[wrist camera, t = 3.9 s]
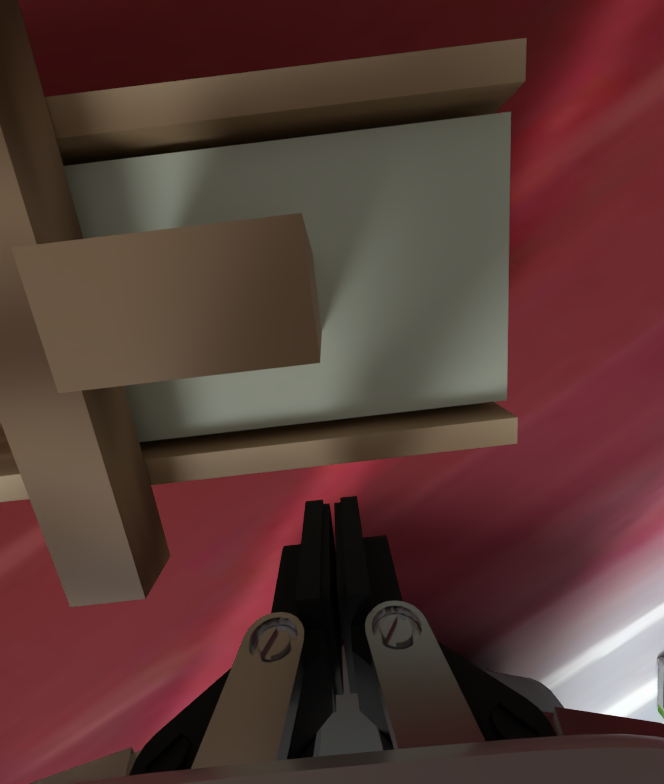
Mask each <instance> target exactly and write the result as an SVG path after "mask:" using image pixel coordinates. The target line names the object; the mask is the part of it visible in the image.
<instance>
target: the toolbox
mask: <svg viewBox="0 0 664 784" xmlns="http://www.w3.org/2000/svg"><path fill="white" fill-rule="evenodd" d="M526 41H527V38H520V39H512V40H504V41H496V42H488V43H480V44H472V45H464V46H455V47H447V48H439V49H431V50H423V51H415V52H407V53H399V54H391V55H382V56H374V57H366V58H358V59H350V60H342V61H334V62H326V63H318V64H310V65H301V66H293V67H285V68H277V69H269V70H261V71H253V72H245V73H237V74H228V75H220V76H212V77H204V78H196V79H188V80H180V81H172V82H164V83H155V84H147V85H139V86H131V87H123V88H115V89H107V90H99V91H91V92H82V93H74V94H66V95H58V96H50V97H45V100H46V104H47V108H48V111H49V115H50V119H51V122H52V126H53V130H54V133H55V137H56V141H57V144H58V148H59V152H60V155H61V159H62V163H63V166H68V165H76V164H85V163H93V162H101V161H109V160H118V159H126V158H134V157H142V156H150V155H159V154H167V153H175V152H183V151H192V150H200V149H208V148H216V147H225V146H233V145H241V144H249V143H257V142H266V141H274V140H282V139H290V138H299V137H307V136H315V135H323V134H331V133H340V132H348V131H356V130H364V129H373V128H381V127H389V126H397V125H406V124H414V123H422V122H430V121H438V120H447V119H455V118H463V117H471V116H480V115H488V114H495V113H496V112H497V111H498V110H499V109H500V108H501V107H502V105H503V104H504V103H505V102H506V101H507V100H508V99H509V98H510V97H511V96H512V95H513V94H514V93H515V92H516V91H517V90H518V89H519V88H520V87H521V85H522V84H523V83H524V82H525V81H526ZM517 426H518V417H516V416H515V415H513V414H512V413H510V412H509V411H507V410H505V409H504V408H502V407H501V406H499V405H498V404H496V403H494V402H486V403H477V404H468V405H459V406H451V407H442V408H433V409H425V410H416V411H407V412H398V413H390V414H381V415H372V416H363V417H355V418H346V419H337V420H328V421H320V422H311V423H302V424H293V425H285V426H276V427H267V428H258V429H250V430H241V431H232V432H224V433H215V434H206V435H197V436H189V437H180V438H171V439H162V440H154V441H145V442H139V444H140V447H141V451H142V455H143V458H144V462H145V465H146V469H147V473H148V476H149V480H150V484H151V485H155V484H164V483H173V482H182V481H191V480H199V479H208V478H217V477H226V476H235V475H244V474H252V473H261V472H270V471H279V470H288V469H297V468H305V467H314V466H323V465H332V464H341V463H349V462H358V461H367V460H376V459H385V458H394V457H402V456H411V455H420V454H429V453H438V452H447V451H455V450H464V449H473V448H482V447H491V446H499V445H508V444H517ZM23 499H29V496H28V493H27V491H26V488H25V485H24V483H23V480H22V478H21V475H20V472H19V470H18V467H17V464H16V462H15V459H14V456H13V454H12V451H11V448H10V446H9V443H8V440H7V438H6V435H5V432H4V430H3V427H2V424H0V502H5V501H14V500H23Z"/></svg>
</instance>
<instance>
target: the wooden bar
mask: <svg viewBox="0 0 664 784" xmlns="http://www.w3.org/2000/svg"><path fill="white" fill-rule="evenodd" d="M78 239H83V236H82V232H81V228H80V225H79V221H78V217H77V214H76V210H75V206H74V203H73V199H72V195H71V192H70V188H69V184H68V181H67V177H66V173H65V170H64V166H63V163H62V159H61V155H60V152H59V148H58V144H57V141H56V137H55V133H54V130H53V126H52V122H51V119H50V115H49V111H48V108H47V104H46V100H45V97H44V93H43V89H42V86H41V82H40V79H39V75H38V71H37V68H36V64H35V60H34V57H33V53H32V49H31V46H30V42H29V38H28V35H27V31H26V27H25V24H24V20H23V16H22V13H21V9H20V6H19V2H18V0H0V422H1V424H2V427H3V430H4V432H5V435H6V438H7V440H8V443H9V446H10V448H11V451H12V454H13V456H14V459H15V462H16V464H17V467H18V470H19V472H20V475H21V478H22V480H23V483H24V485H25V488H26V491H27V493H28V496H29V499H30V501H31V504H32V507H33V509H34V512H35V515H36V517H37V520H38V523H39V525H40V528H41V531H42V533H43V536H44V539H45V541H46V544H47V547H48V549H49V552H50V554H51V557H52V560H53V562H54V565H55V568H56V570H57V573H58V576H59V578H60V581H61V584H62V586H63V589H64V592H65V594H66V597H67V600H68V602H69V605H70V607H75V606H84V605H93V604H102V603H112V602H121V601H130V600H139V599H146V597H147V595H148V594H149V592H150V590H151V588H152V587H153V585H154V583H155V582H156V580H157V578H158V576H159V575H160V573H161V571H162V570H163V568H164V566H165V564H166V563H167V561H168V559H169V558H170V553H169V549H168V546H167V542H166V538H165V535H164V531H163V528H162V524H161V520H160V517H159V513H158V509H157V506H156V502H155V498H154V495H153V491H152V487H151V484H150V480H149V476H148V473H147V469H146V465H145V462H144V458H143V455H142V451H141V447H140V444H139V440H138V436H137V433H136V429H135V425H134V422H133V418H132V414H131V411H130V407H129V403H128V400H127V396H126V392H125V389H124V386H117V387H108V388H100V389H91V390H82V391H74V392H65V393H58V391H57V388H56V385H55V382H54V378H53V375H52V372H51V369H50V366H49V363H48V360H47V357H46V354H45V351H44V348H43V345H42V342H41V338H40V335H39V332H38V329H37V326H36V323H35V320H34V317H33V314H32V311H31V308H30V305H29V302H28V298H27V295H26V292H25V289H24V286H23V283H22V280H21V277H20V274H19V271H18V268H17V265H16V262H15V258H14V255H13V252H12V249H11V247H20V246H28V245H36V244H45V243H53V242H62V241H70V240H78Z"/></svg>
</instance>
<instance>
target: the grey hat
mask: <svg viewBox="0 0 664 784" xmlns="http://www.w3.org/2000/svg"><path fill="white" fill-rule="evenodd" d="M342 660H343V685H344V695H336V712H333V713H332V715H331V716H330V717H329V718H328V719H327V721H326V722H325V723H324V724H323V726H322V727H321V745H320V752H319V756H329V755H340V754H351V753H361V752H372V751H381V749H380V745H379V741H378V737H377V728H376V725H375V724H373V723H372V722H371V721H370V720H369V719H368V718H367V717H366V716H365V715H364V714H363V713H362V712H361V711H360V710H359V702H358V694H357V693H355V694H350V688H349V680H348V673H347V665H346V658H345V650H344V646H342ZM483 671H485V670H483ZM485 672H486V673H488V674H489V675H491V676H492V677H494V678H496V679H497V680H499V681H500V682H502V683H503V684H505V685H507V686H508V687H510V688H511V689H513V690H514V691H516V692H518V693H519V694H521V695H522V696H524V697H525V698H527V699H528V700H529V701H531V702H532V703H533V704H534V705H536V706H537V707H538V708H539V709H540V710H541V711H545V712H551V713H554V707H559V708H564V707H563V706H562V704H561V703H560V702H559V700H558V699H557V698H556V697H555V695H554V694H553V693H552V692H551V690H549V689H548V688H547V687H546V686H544V685H543V684H542V683H540V682H538V681H536V680H533V679H531V678H525V677H518V676H512V675H507V674H502V673H496V672H491V671H485Z"/></svg>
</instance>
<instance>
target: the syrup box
mask: <svg viewBox="0 0 664 784" xmlns="http://www.w3.org/2000/svg"><path fill="white" fill-rule="evenodd" d="M658 665H659V676H658V712H659V713H660V715H661V716H662V717H663V718H664V657H659V658H658Z"/></svg>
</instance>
